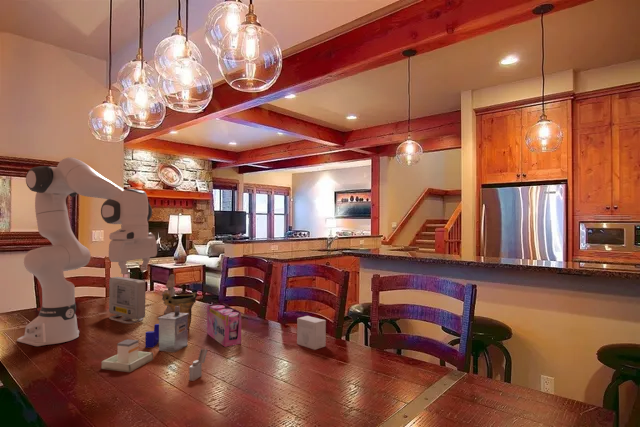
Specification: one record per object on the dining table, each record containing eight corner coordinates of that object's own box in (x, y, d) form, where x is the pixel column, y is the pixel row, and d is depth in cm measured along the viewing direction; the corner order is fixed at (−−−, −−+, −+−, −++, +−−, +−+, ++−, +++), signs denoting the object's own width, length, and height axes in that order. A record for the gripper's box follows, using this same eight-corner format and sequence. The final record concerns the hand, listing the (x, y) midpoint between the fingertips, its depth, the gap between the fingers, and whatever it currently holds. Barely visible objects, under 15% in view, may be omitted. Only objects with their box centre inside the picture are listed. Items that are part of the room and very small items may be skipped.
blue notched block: (151, 338, 157) (151, 324, 157) (162, 337, 158) (163, 323, 158) (141, 348, 145) (141, 332, 145) (153, 347, 146) (153, 332, 146)
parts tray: (101, 368, 125) (101, 361, 125) (126, 356, 135) (126, 349, 136) (129, 372, 122) (129, 364, 122) (152, 359, 133) (153, 352, 133)
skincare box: (326, 346, 147) (326, 319, 148) (315, 350, 143) (315, 322, 143) (307, 340, 155) (307, 314, 155) (296, 344, 150) (296, 317, 150)
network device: (149, 320, 183) (149, 280, 183) (132, 325, 176) (132, 282, 176) (120, 313, 197) (120, 275, 197) (103, 317, 189) (104, 278, 190)
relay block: (128, 365, 126) (129, 344, 126) (117, 364, 127) (117, 343, 127) (138, 360, 130) (139, 340, 131) (127, 359, 132) (127, 339, 132)
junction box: (157, 350, 142) (157, 309, 142) (171, 343, 150) (172, 304, 150) (175, 352, 140) (175, 311, 140) (188, 345, 148) (189, 305, 148)
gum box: (243, 344, 149) (243, 313, 149) (225, 348, 145) (225, 315, 145) (222, 330, 167) (222, 302, 167) (206, 333, 163) (206, 304, 163)
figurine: (173, 309, 206) (173, 273, 206) (183, 311, 201) (183, 274, 202) (159, 313, 198) (159, 275, 198) (169, 315, 194) (169, 276, 194)
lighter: (193, 381, 115) (193, 355, 115) (188, 380, 116) (189, 354, 116) (207, 372, 122) (207, 347, 122) (202, 371, 123) (203, 347, 123)
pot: (169, 337, 157) (170, 295, 158) (155, 332, 164) (156, 291, 164) (204, 328, 171) (204, 288, 171) (190, 323, 178) (190, 286, 178)
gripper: (147, 232, 145) (147, 267, 145) (105, 234, 126) (104, 275, 125) (161, 232, 144) (161, 268, 144) (120, 234, 124) (120, 276, 124)
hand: (134, 271), depth 134 cm, fingers open, 8 cm apart
